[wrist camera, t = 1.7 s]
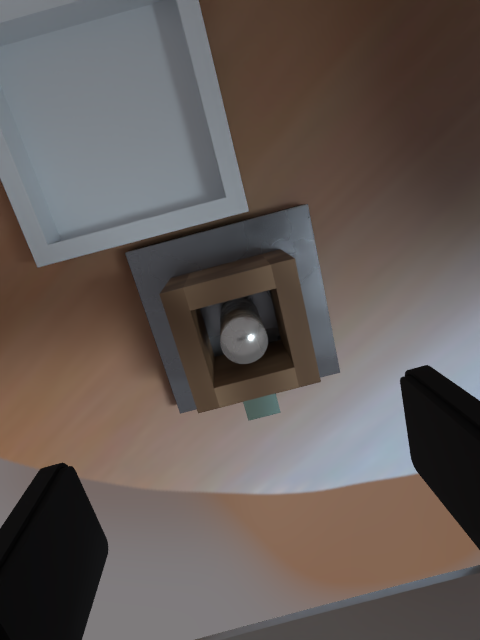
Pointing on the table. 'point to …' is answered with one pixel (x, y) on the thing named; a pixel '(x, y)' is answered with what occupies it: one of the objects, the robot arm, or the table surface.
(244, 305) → the grey peg base
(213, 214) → the tray
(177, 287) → the brown hollow square block
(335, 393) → the table surface
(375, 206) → the table surface
